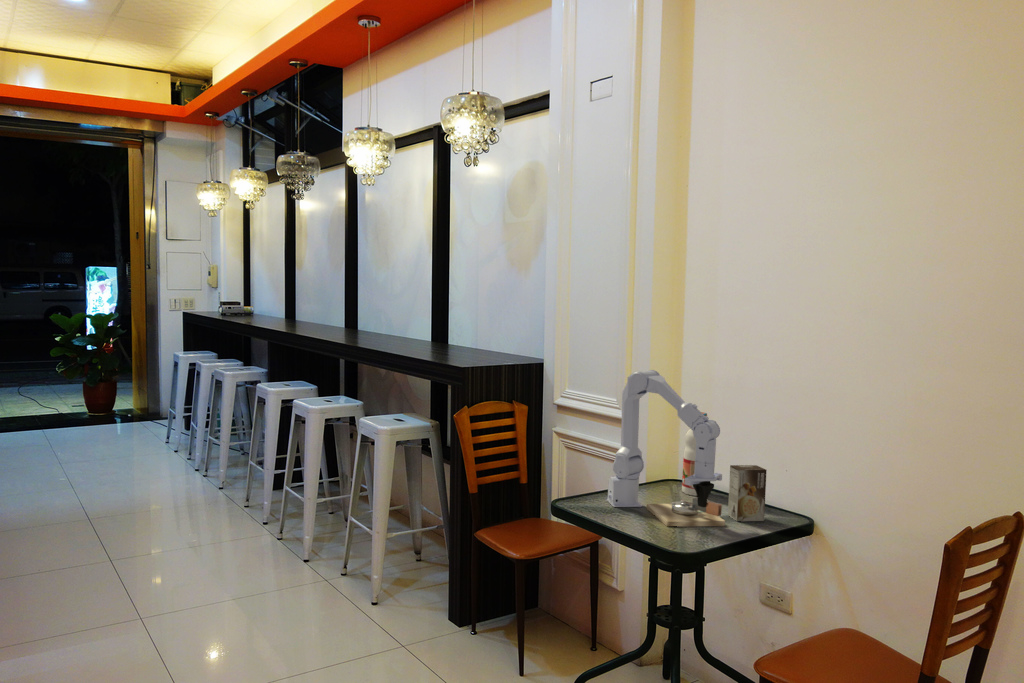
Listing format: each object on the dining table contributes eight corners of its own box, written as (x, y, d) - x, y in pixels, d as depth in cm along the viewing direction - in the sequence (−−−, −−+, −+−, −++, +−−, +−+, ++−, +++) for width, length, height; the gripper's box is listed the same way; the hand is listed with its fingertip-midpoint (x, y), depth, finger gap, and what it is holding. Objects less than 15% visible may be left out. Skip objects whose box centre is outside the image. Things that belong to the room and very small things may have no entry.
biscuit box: (754, 515, 226) (757, 464, 225) (764, 521, 220) (767, 469, 219) (726, 515, 225) (729, 464, 224) (736, 522, 219) (739, 469, 218)
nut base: (667, 526, 211) (667, 521, 211) (646, 508, 229) (646, 503, 229) (731, 525, 214) (731, 520, 214) (706, 508, 232) (706, 503, 232)
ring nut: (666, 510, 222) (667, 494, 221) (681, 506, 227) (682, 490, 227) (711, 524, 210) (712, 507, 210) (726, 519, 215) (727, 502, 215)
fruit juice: (701, 498, 244) (706, 416, 242) (676, 492, 250) (680, 412, 248) (714, 493, 251) (718, 413, 249) (689, 487, 257) (694, 409, 255)
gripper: (699, 466, 207) (696, 513, 208) (731, 461, 216) (728, 506, 216) (680, 461, 213) (677, 506, 214) (712, 457, 221) (709, 500, 222)
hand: (702, 506), depth 216 cm, fingers closed, pressing on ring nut
